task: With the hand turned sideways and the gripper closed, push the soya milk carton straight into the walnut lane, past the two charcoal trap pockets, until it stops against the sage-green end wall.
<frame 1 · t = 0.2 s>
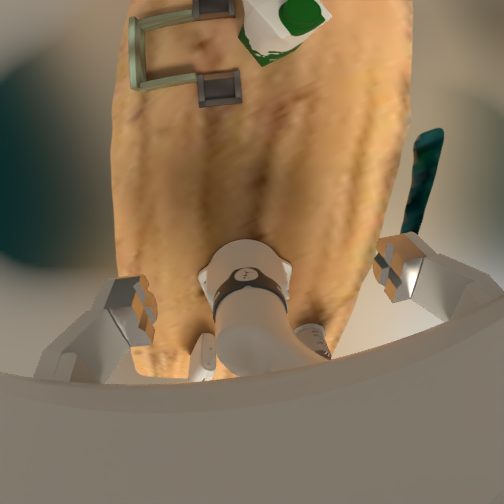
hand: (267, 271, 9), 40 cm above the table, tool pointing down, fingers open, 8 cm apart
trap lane: (187, 49, 36), on the table
soya milk: (266, 43, 36), on the table
french press: (307, 339, 66), on the table
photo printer: (203, 345, 64), on the table
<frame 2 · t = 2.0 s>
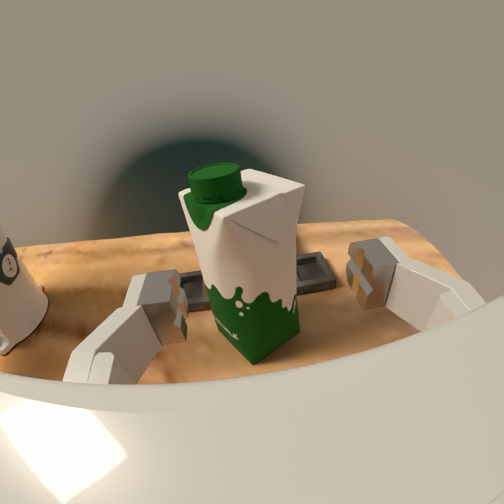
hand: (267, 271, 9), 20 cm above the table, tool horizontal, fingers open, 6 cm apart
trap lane: (246, 265, 43), on the table
soya milk: (259, 332, 32), on the table
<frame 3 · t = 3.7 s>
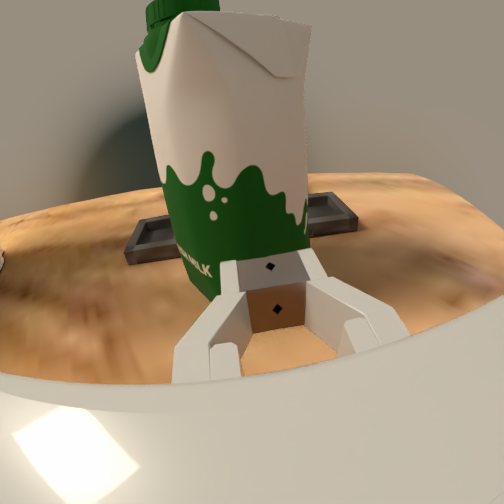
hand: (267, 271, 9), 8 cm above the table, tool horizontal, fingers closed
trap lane: (236, 210, 33), on the table
soya milk: (250, 283, 22), on the table
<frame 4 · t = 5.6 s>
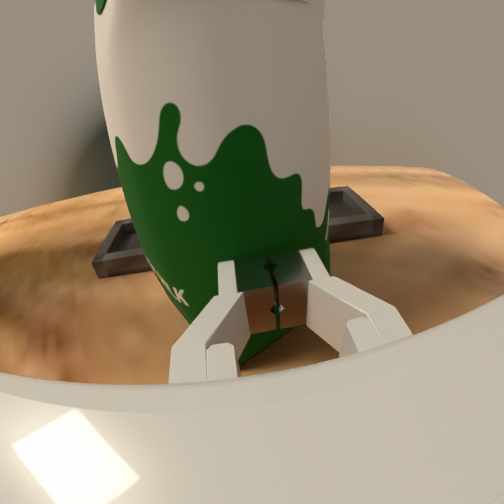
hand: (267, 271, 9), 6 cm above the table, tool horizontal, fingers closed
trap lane: (232, 208, 27), on the table
soya milk: (247, 302, 16), on the table, touching gripper
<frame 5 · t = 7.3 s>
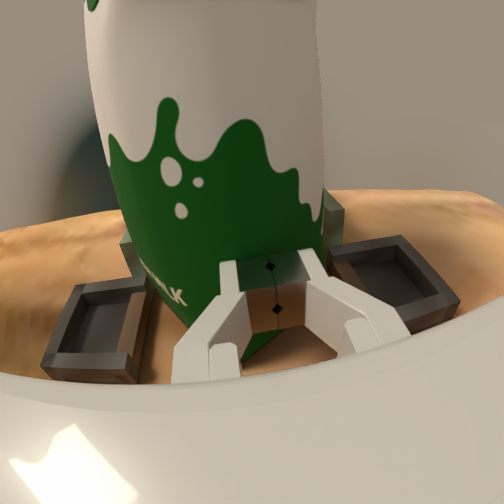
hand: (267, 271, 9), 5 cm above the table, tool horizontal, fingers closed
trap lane: (237, 266, 19), on the table
soya milk: (242, 301, 16), on the table, touching gripper
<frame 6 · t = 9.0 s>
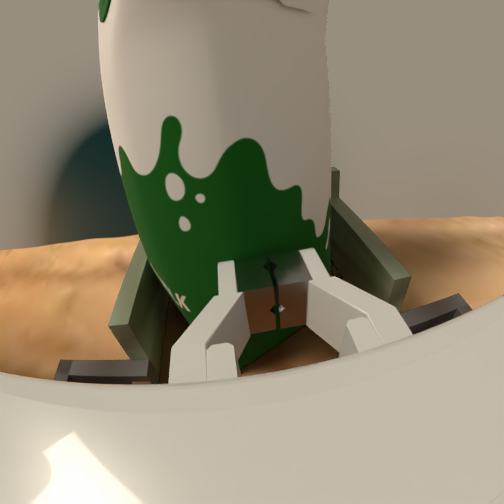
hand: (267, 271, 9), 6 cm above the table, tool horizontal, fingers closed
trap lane: (266, 339, 14), on the table
soya milk: (249, 307, 16), on the table, touching gripper, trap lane
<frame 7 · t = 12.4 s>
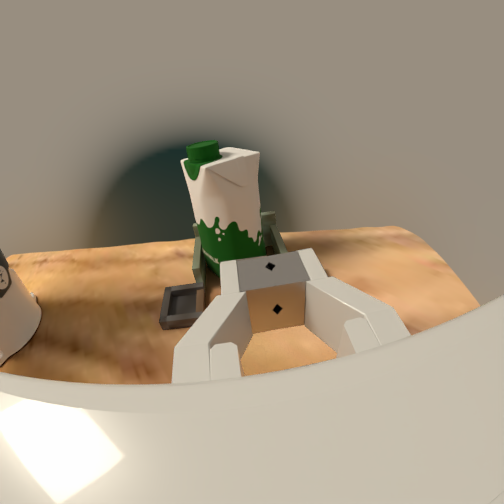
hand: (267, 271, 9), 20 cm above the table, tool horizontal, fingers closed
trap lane: (242, 277, 41), on the table
soya milk: (237, 268, 44), on the table
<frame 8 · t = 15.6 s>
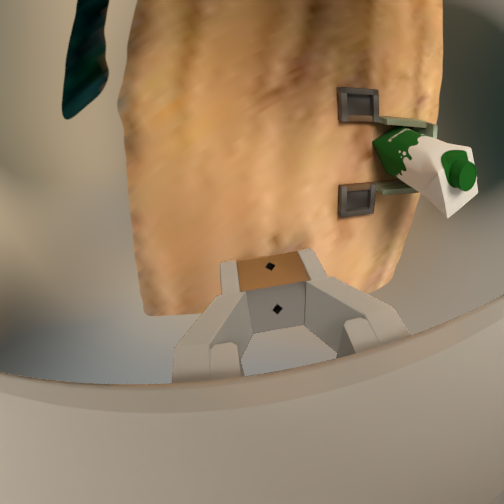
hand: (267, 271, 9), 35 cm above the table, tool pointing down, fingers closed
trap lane: (380, 152, 43), on the table
soya milk: (392, 148, 43), on the table
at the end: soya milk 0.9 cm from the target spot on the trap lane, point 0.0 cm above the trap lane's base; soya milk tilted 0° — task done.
